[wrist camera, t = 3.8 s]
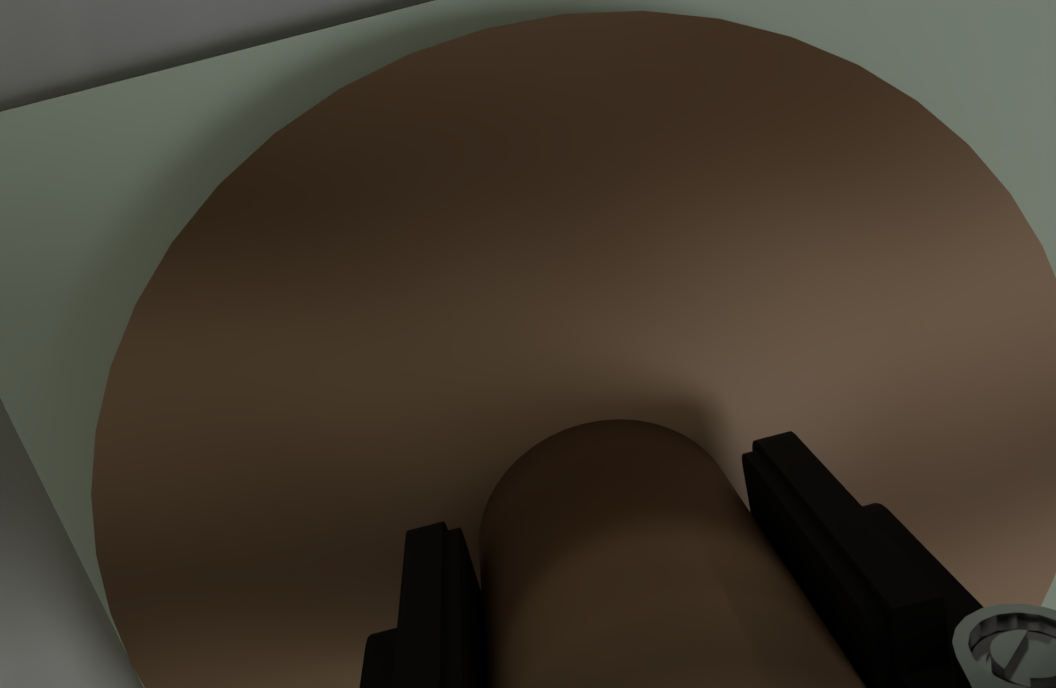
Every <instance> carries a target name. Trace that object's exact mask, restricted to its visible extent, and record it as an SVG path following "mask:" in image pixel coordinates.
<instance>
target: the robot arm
mask: <svg viewBox="0 0 1056 688" xmlns="http://www.w3.org/2000/svg"><path fill="white" fill-rule="evenodd" d="M742 466H743V472H744V477H745V483H746V489H747V495H748V500H749V506H750V512H751V514H752V516H753V517H754V519H755V520H756V522H757V523H758V525H759V526H760V528H761V529H762V531H763V532H764V534H765V535H766V537H767V538H768V540H769V541H770V543H771V544H772V546H773V547H774V549H775V550H776V552H777V553H778V555H779V556H780V558H781V559H782V561H783V562H784V564H785V565H786V567H787V568H788V570H789V571H790V573H791V574H792V576H793V577H794V579H795V580H796V582H797V583H798V585H799V586H800V588H801V589H802V591H803V592H804V594H805V595H806V597H807V598H808V600H809V601H810V603H811V604H812V606H813V607H814V609H815V610H816V612H817V613H818V615H819V616H820V618H821V619H822V621H823V622H824V624H825V625H826V627H827V628H828V630H829V631H830V633H831V634H832V636H833V637H834V639H835V640H836V642H837V643H838V645H839V646H840V648H841V649H842V651H843V652H844V654H845V655H846V657H847V658H848V660H849V661H850V663H851V664H852V666H853V667H854V669H855V670H856V672H857V673H858V675H859V676H860V678H861V679H862V681H863V682H864V684H865V685H866V687H867V688H1056V610H1053V609H1050V608H1047V607H1041V606H1035V605H1028V604H999V605H994V606H990V607H985V608H984V607H983V606H982V605H981V604H980V603H979V602H978V601H977V600H976V599H975V598H974V597H973V596H972V595H971V594H970V593H969V592H968V591H967V590H966V589H965V588H964V586H963V585H962V584H961V583H960V582H959V581H958V580H957V579H956V578H955V577H954V576H953V575H952V574H951V573H950V572H949V571H948V570H947V569H946V568H945V567H944V566H943V565H942V564H941V563H940V562H939V561H938V560H937V559H936V558H935V557H934V556H933V555H932V554H931V553H930V552H929V551H928V550H927V549H926V548H925V547H924V545H923V544H922V543H921V542H920V541H919V540H918V539H917V538H916V537H915V536H914V535H913V534H912V533H911V532H910V531H909V530H908V529H907V528H906V527H905V526H904V525H903V524H902V523H901V522H900V521H899V520H898V519H897V518H896V517H895V516H894V515H893V514H892V513H891V512H890V511H889V510H888V509H887V508H886V507H885V506H883V505H882V504H880V503H873V504H869V505H865V506H861V505H860V504H859V502H858V501H857V500H856V499H855V498H854V497H853V496H852V495H851V494H850V493H849V492H848V491H847V489H846V488H845V487H844V486H843V485H842V484H841V483H840V482H839V481H838V480H837V479H836V478H835V476H834V475H833V474H832V473H831V472H830V471H829V470H828V469H827V468H826V467H825V466H824V465H823V463H822V462H821V461H820V460H819V459H818V458H817V457H816V456H815V455H814V454H813V453H812V452H811V450H810V449H809V448H808V447H807V446H806V445H805V444H804V443H803V442H802V441H801V440H800V439H799V437H798V436H797V435H796V434H795V433H793V432H792V431H788V432H785V433H781V434H777V435H773V436H769V437H765V438H762V439H758V440H754V441H753V443H752V451H751V452H747V453H743V454H742ZM359 688H488V687H487V671H486V655H485V639H484V623H483V608H482V592H481V589H480V586H479V583H478V580H477V576H476V573H475V570H474V567H473V563H472V560H471V557H470V554H469V551H468V547H467V544H466V541H465V538H464V535H463V532H462V530H461V528H460V527H459V528H455V529H451V530H448V528H447V526H446V524H445V522H444V521H442V522H438V523H434V524H431V525H427V526H423V527H419V528H415V529H411V530H408V531H406V536H405V547H404V558H403V568H402V579H401V590H400V601H399V611H398V622H397V628H393V629H389V630H385V631H381V632H378V633H374V634H371V635H370V636H369V637H368V638H367V642H366V646H365V652H364V659H363V666H362V673H361V680H360V687H359Z"/></svg>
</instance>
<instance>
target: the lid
mask: <svg viewBox="0 0 1056 688" xmlns="http://www.w3.org/2000/svg"><path fill="white" fill-rule="evenodd" d="M788 431H792V432H793V433H795V434H796V435H797V436H798V437H799V439H800V440H801V441H802V442H803V443H804V444H805V445H806V446H807V447H808V448H809V449H810V450H811V452H812V453H813V454H814V455H815V456H816V457H817V458H818V459H819V460H820V461H821V462H822V463H823V465H824V466H825V467H826V468H827V469H828V470H829V471H830V472H831V473H832V474H833V475H834V476H835V478H836V479H837V480H838V481H839V482H840V483H841V484H842V485H843V486H844V487H845V488H846V489H847V491H848V492H849V493H850V494H851V495H852V496H853V497H854V498H855V499H856V500H857V501H858V502H859V504H860V505H861V506H865V505H869V504H873V503H880V504H882V505H883V506H885V507H886V508H887V509H888V510H889V511H890V512H891V513H892V514H893V515H894V516H895V517H896V518H897V519H898V520H899V521H900V522H901V523H902V524H903V525H904V526H905V527H906V528H907V529H908V530H909V531H910V532H911V533H912V534H913V535H914V536H915V537H916V538H917V539H918V540H919V541H920V542H921V543H922V544H923V545H924V547H925V548H926V549H927V550H928V551H929V552H930V553H931V554H932V555H933V556H934V557H935V558H936V559H937V560H938V561H939V562H940V563H941V564H942V565H943V566H944V567H945V568H946V569H947V570H948V571H949V572H950V573H951V574H952V575H953V576H954V577H955V578H956V579H957V580H958V581H959V582H960V583H961V584H962V585H963V586H964V588H965V589H966V590H967V591H968V592H969V593H970V594H971V595H972V596H973V597H974V598H975V599H976V600H977V601H978V602H979V603H980V604H981V605H982V606H983V607H984V608H985V607H990V606H994V605H999V604H1028V605H1035V606H1041V605H1042V603H1043V601H1044V598H1045V596H1046V594H1047V592H1048V590H1049V588H1050V586H1051V584H1052V581H1053V579H1054V577H1055V574H1056V277H1055V275H1054V272H1053V270H1052V268H1051V265H1050V263H1049V260H1048V258H1047V256H1046V253H1045V251H1044V248H1043V246H1042V244H1041V243H1040V241H1039V239H1038V238H1037V236H1036V235H1035V233H1034V231H1033V230H1032V228H1031V226H1030V225H1029V223H1028V221H1027V220H1026V218H1025V217H1024V215H1023V213H1022V212H1021V210H1020V208H1019V207H1018V205H1017V204H1016V202H1015V200H1014V199H1013V197H1012V195H1011V194H1010V192H1009V191H1008V190H1007V189H1006V188H1005V187H1004V185H1003V184H1002V183H1001V182H1000V181H999V180H998V178H997V177H996V176H995V175H994V174H993V173H992V171H991V170H990V169H989V168H988V167H987V165H986V164H985V163H984V162H983V161H982V160H981V158H980V157H979V156H978V155H977V154H976V153H975V151H974V150H973V149H972V148H971V147H970V146H969V144H967V143H966V142H965V141H964V140H963V139H962V138H960V137H959V136H958V135H957V134H956V133H954V132H953V131H952V130H951V129H950V128H949V127H947V126H946V125H945V124H944V123H943V122H942V121H940V120H939V119H938V118H937V117H936V116H935V115H933V114H932V113H931V112H930V111H929V110H927V109H926V108H925V107H924V106H923V105H922V104H920V103H919V102H918V101H917V100H915V99H913V98H912V97H910V96H908V95H907V94H905V93H904V92H902V91H900V90H899V89H897V88H895V87H894V86H892V85H891V84H889V83H887V82H886V81H884V80H882V79H881V78H879V77H877V76H876V75H874V74H873V73H871V72H869V71H868V70H866V69H864V68H863V67H861V66H860V65H858V64H855V63H853V62H850V61H848V60H846V59H843V58H841V57H839V56H836V55H834V54H831V53H829V52H827V51H824V50H822V49H819V48H817V47H815V46H812V45H810V44H808V43H805V42H803V41H800V40H798V39H796V38H793V37H790V36H786V35H782V34H778V33H774V32H770V31H767V30H763V29H759V28H755V27H751V26H747V25H743V24H739V23H735V22H731V21H727V20H723V19H719V18H709V17H699V16H689V15H679V14H670V13H660V12H650V11H625V12H601V13H577V14H561V15H556V16H551V17H545V18H540V19H534V20H529V21H523V22H518V23H513V24H507V25H502V26H496V27H491V28H486V29H483V30H480V31H477V32H474V33H471V34H468V35H465V36H462V37H459V38H456V39H453V40H450V41H447V42H444V43H441V44H438V45H435V46H432V47H429V48H426V49H423V50H420V51H417V52H414V53H411V54H408V55H406V56H404V57H402V58H400V59H398V60H396V61H394V62H392V63H390V64H388V65H386V66H384V67H382V68H380V69H378V70H376V71H374V72H372V73H370V74H368V75H366V76H364V77H362V78H360V79H358V80H356V81H354V82H352V83H350V84H348V85H346V86H344V87H342V88H340V89H338V90H337V91H335V92H334V93H332V94H331V95H330V96H328V97H327V98H325V99H324V100H322V101H321V102H319V103H318V104H316V105H315V106H314V107H312V108H311V109H309V110H308V111H306V112H305V113H303V114H302V115H300V116H299V117H298V118H296V119H295V120H293V121H292V122H290V123H289V124H287V125H286V126H284V127H283V128H282V129H280V130H279V131H277V132H276V133H274V134H273V135H272V136H271V137H270V138H269V139H268V140H267V141H266V142H265V143H263V144H262V145H261V146H260V147H259V148H258V149H257V150H256V151H255V152H254V153H253V154H252V155H250V156H249V157H248V158H247V159H246V160H245V161H244V162H243V163H242V164H241V165H240V166H239V167H237V168H236V169H235V170H234V171H233V172H232V173H231V174H230V175H229V176H228V177H227V178H226V179H224V180H223V181H222V182H221V183H220V184H219V185H218V186H217V187H216V189H215V190H214V191H213V192H212V194H211V195H210V196H209V197H208V198H207V200H206V201H205V202H204V203H203V205H202V206H201V207H200V208H199V210H198V211H197V212H196V213H195V215H194V216H193V217H192V218H191V219H190V221H189V222H188V223H187V224H186V226H185V227H184V228H183V229H182V231H181V232H180V233H179V234H178V236H177V237H176V238H175V239H174V240H173V242H172V243H171V245H170V246H169V248H168V250H167V252H166V253H165V255H164V257H163V258H162V260H161V262H160V263H159V265H158V267H157V269H156V270H155V272H154V274H153V275H152V277H151V279H150V280H149V282H148V284H147V286H146V287H145V289H144V291H143V292H142V294H141V296H140V297H139V299H138V301H137V303H136V304H135V307H134V309H133V312H132V314H131V317H130V319H129V322H128V324H127V327H126V329H125V332H124V334H123V337H122V339H121V342H120V344H119V347H118V349H117V352H116V354H115V357H114V359H113V362H112V364H111V367H110V371H109V375H108V379H107V384H106V388H105V392H104V397H103V401H102V405H101V410H100V414H99V418H98V423H97V427H96V431H95V445H94V459H93V473H92V487H91V500H92V512H93V524H94V536H95V548H96V557H97V561H98V565H99V569H100V573H101V577H102V581H103V585H104V590H105V594H106V598H107V602H108V606H109V610H110V613H111V616H112V618H113V621H114V623H115V626H116V628H117V630H118V633H119V635H120V638H121V640H122V643H123V645H124V648H125V650H126V652H127V655H128V657H129V660H130V662H131V665H132V667H133V668H134V670H135V672H136V673H137V675H138V677H139V678H140V680H141V682H142V683H143V685H144V687H145V688H359V687H360V680H361V673H362V666H363V659H364V652H365V646H366V642H367V638H368V637H369V636H370V635H371V634H374V633H378V632H381V631H385V630H389V629H393V628H397V622H398V611H399V601H400V590H401V579H402V568H403V558H404V547H405V536H406V531H408V530H411V529H415V528H419V527H423V526H427V525H431V524H434V523H438V522H442V521H444V522H445V524H446V526H447V528H448V530H451V529H455V528H459V527H460V528H461V530H462V532H463V535H464V538H465V541H466V544H467V547H468V551H469V554H470V557H471V560H472V563H473V567H474V570H475V573H476V576H477V580H478V583H479V586H480V589H481V592H482V608H483V623H484V639H485V655H486V671H487V687H488V688H867V687H866V685H865V684H864V682H863V681H862V679H861V678H860V676H859V675H858V673H857V672H856V670H855V669H854V667H853V666H852V664H851V663H850V661H849V660H848V658H847V657H846V655H845V654H844V652H843V651H842V649H841V648H840V646H839V645H838V643H837V642H836V640H835V639H834V637H833V636H832V634H831V633H830V631H829V630H828V628H827V627H826V625H825V624H824V622H823V621H822V619H821V618H820V616H819V615H818V613H817V612H816V610H815V609H814V607H813V606H812V604H811V603H810V601H809V600H808V598H807V597H806V595H805V594H804V592H803V591H802V589H801V588H800V586H799V585H798V583H797V582H796V580H795V579H794V577H793V576H792V574H791V573H790V571H789V570H788V568H787V567H786V565H785V564H784V562H783V561H782V559H781V558H780V556H779V555H778V553H777V552H776V550H775V549H774V547H773V546H772V544H771V543H770V541H769V540H768V538H767V537H766V535H765V534H764V532H763V531H762V529H761V528H760V526H759V525H758V523H757V522H756V520H755V519H754V517H753V516H752V514H751V512H750V506H749V500H748V495H747V489H746V483H745V477H744V472H743V466H742V454H743V453H747V452H751V451H752V443H753V441H754V440H758V439H762V438H765V437H769V436H773V435H777V434H781V433H785V432H788Z"/></svg>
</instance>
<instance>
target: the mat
mask: <svg viewBox="0 0 1056 688" xmlns="http://www.w3.org/2000/svg"><path fill="white" fill-rule="evenodd" d="M625 11H650V12H660V13H670V14H679V15H689V16H699V17H709V18H719V19H723V20H727V21H731V22H735V23H739V24H743V25H747V26H751V27H755V28H759V29H763V30H767V31H770V32H774V33H778V34H782V35H786V36H790V37H793V38H796V39H798V40H800V41H803V42H805V43H808V44H810V45H812V46H815V47H817V48H819V49H822V50H824V51H827V52H829V53H831V54H834V55H836V56H839V57H841V58H843V59H846V60H848V61H850V62H853V63H855V64H858V65H860V66H861V67H863V68H864V69H866V70H868V71H869V72H871V73H873V74H874V75H876V76H877V77H879V78H881V79H882V80H884V81H886V82H887V83H889V84H891V85H892V86H894V87H895V88H897V89H899V90H900V91H902V92H904V93H905V94H907V95H908V96H910V97H912V98H913V99H915V100H917V101H918V102H919V103H920V104H922V105H923V106H924V107H925V108H926V109H927V110H929V111H930V112H931V113H932V114H933V115H935V116H936V117H937V118H938V119H939V120H940V121H942V122H943V123H944V124H945V125H946V126H947V127H949V128H950V129H951V130H952V131H953V132H954V133H956V134H957V135H958V136H959V137H960V138H962V139H963V140H964V141H965V142H966V143H967V144H969V146H970V147H971V148H972V149H973V150H974V151H975V153H976V154H977V155H978V156H979V157H980V158H981V160H982V161H983V162H984V163H985V164H986V165H987V167H988V168H989V169H990V170H991V171H992V173H993V174H994V175H995V176H996V177H997V178H998V180H999V181H1000V182H1001V183H1002V184H1003V185H1004V187H1005V188H1006V189H1007V190H1008V191H1009V192H1010V194H1011V195H1012V197H1013V199H1014V200H1015V202H1016V204H1017V205H1018V207H1019V208H1020V210H1021V212H1022V213H1023V215H1024V217H1025V218H1026V220H1027V221H1028V223H1029V225H1030V226H1031V228H1032V230H1033V231H1034V233H1035V235H1036V236H1037V238H1038V239H1039V241H1040V243H1041V244H1042V246H1043V248H1044V251H1045V253H1046V256H1047V258H1048V260H1049V263H1050V265H1051V268H1052V270H1053V272H1054V275H1055V277H1056V0H434V1H431V2H427V3H423V4H419V5H415V6H411V7H407V8H403V9H399V10H395V11H392V12H388V13H384V14H380V15H376V16H372V17H368V18H364V19H360V20H356V21H352V22H349V23H345V24H341V25H337V26H333V27H329V28H325V29H321V30H317V31H313V32H310V33H306V34H302V35H298V36H294V37H290V38H286V39H282V40H278V41H274V42H271V43H267V44H263V45H259V46H255V47H251V48H247V49H243V50H239V51H235V52H232V53H228V54H224V55H220V56H216V57H212V58H208V59H204V60H200V61H196V62H193V63H189V64H185V65H181V66H177V67H173V68H169V69H165V70H161V71H157V72H154V73H150V74H146V75H142V76H138V77H134V78H130V79H126V80H122V81H118V82H115V83H111V84H107V85H103V86H99V87H95V88H91V89H87V90H83V91H79V92H76V93H72V94H68V95H64V96H60V97H56V98H52V99H48V100H44V101H40V102H36V103H33V104H29V105H25V106H21V107H17V108H13V109H9V110H5V111H1V112H0V399H1V401H2V403H3V405H4V407H5V409H6V411H7V414H8V416H9V418H10V420H11V422H12V424H13V426H14V428H15V430H16V432H17V434H18V436H19V438H20V440H21V442H22V444H23V446H24V448H25V450H26V452H27V454H28V456H29V458H30V460H31V462H32V464H33V466H34V468H35V470H36V472H37V474H38V476H39V478H40V480H41V482H42V484H43V486H44V488H45V490H46V492H47V494H48V496H49V498H50V500H51V502H52V504H53V506H54V508H55V510H56V512H57V514H58V516H59V518H60V520H61V522H62V525H63V527H64V529H65V531H66V533H67V535H68V537H69V539H70V541H71V543H72V545H73V547H74V549H75V551H76V553H77V555H78V557H79V559H80V561H81V563H82V565H83V567H84V569H85V571H86V573H87V575H88V577H89V579H90V581H91V583H92V585H93V587H94V589H95V591H96V593H97V595H98V597H99V599H100V601H101V603H102V605H103V607H104V609H105V611H106V613H107V615H108V617H109V619H110V621H111V623H112V625H113V627H114V629H115V631H116V633H117V636H118V638H119V640H120V642H121V644H122V646H123V648H124V645H123V643H122V640H121V638H120V635H119V633H118V630H117V628H116V626H115V623H114V621H113V618H112V616H111V613H110V610H109V606H108V602H107V598H106V594H105V590H104V585H103V581H102V577H101V573H100V569H99V565H98V561H97V557H96V548H95V536H94V524H93V512H92V500H91V487H92V473H93V459H94V445H95V431H96V427H97V423H98V418H99V414H100V410H101V405H102V401H103V397H104V392H105V388H106V384H107V379H108V375H109V371H110V367H111V364H112V362H113V359H114V357H115V354H116V352H117V349H118V347H119V344H120V342H121V339H122V337H123V334H124V332H125V329H126V327H127V324H128V322H129V319H130V317H131V314H132V312H133V309H134V307H135V304H136V303H137V301H138V299H139V297H140V296H141V294H142V292H143V291H144V289H145V287H146V286H147V284H148V282H149V280H150V279H151V277H152V275H153V274H154V272H155V270H156V269H157V267H158V265H159V263H160V262H161V260H162V258H163V257H164V255H165V253H166V252H167V250H168V248H169V246H170V245H171V243H172V242H173V240H174V239H175V238H176V237H177V236H178V234H179V233H180V232H181V231H182V229H183V228H184V227H185V226H186V224H187V223H188V222H189V221H190V219H191V218H192V217H193V216H194V215H195V213H196V212H197V211H198V210H199V208H200V207H201V206H202V205H203V203H204V202H205V201H206V200H207V198H208V197H209V196H210V195H211V194H212V192H213V191H214V190H215V189H216V187H217V186H218V185H219V184H220V183H221V182H222V181H223V180H224V179H226V178H227V177H228V176H229V175H230V174H231V173H232V172H233V171H234V170H235V169H236V168H237V167H239V166H240V165H241V164H242V163H243V162H244V161H245V160H246V159H247V158H248V157H249V156H250V155H252V154H253V153H254V152H255V151H256V150H257V149H258V148H259V147H260V146H261V145H262V144H263V143H265V142H266V141H267V140H268V139H269V138H270V137H271V136H272V135H273V134H274V133H276V132H277V131H279V130H280V129H282V128H283V127H284V126H286V125H287V124H289V123H290V122H292V121H293V120H295V119H296V118H298V117H299V116H300V115H302V114H303V113H305V112H306V111H308V110H309V109H311V108H312V107H314V106H315V105H316V104H318V103H319V102H321V101H322V100H324V99H325V98H327V97H328V96H330V95H331V94H332V93H334V92H335V91H337V90H338V89H340V88H342V87H344V86H346V85H348V84H350V83H352V82H354V81H356V80H358V79H360V78H362V77H364V76H366V75H368V74H370V73H372V72H374V71H376V70H378V69H380V68H382V67H384V66H386V65H388V64H390V63H392V62H394V61H396V60H398V59H400V58H402V57H404V56H406V55H408V54H411V53H414V52H417V51H420V50H423V49H426V48H429V47H432V46H435V45H438V44H441V43H444V42H447V41H450V40H453V39H456V38H459V37H462V36H465V35H468V34H471V33H474V32H477V31H480V30H483V29H486V28H491V27H496V26H502V25H507V24H513V23H518V22H523V21H529V20H534V19H540V18H545V17H551V16H556V15H561V14H577V13H601V12H625ZM1041 607H1047V608H1050V609H1053V610H1056V574H1055V577H1054V579H1053V581H1052V584H1051V586H1050V588H1049V590H1048V592H1047V594H1046V596H1045V598H1044V601H1043V603H1042V605H1041ZM124 650H125V648H124ZM125 652H126V650H125ZM126 654H127V652H126ZM127 656H128V655H127ZM128 658H129V657H128ZM136 674H137V673H136ZM137 676H138V675H137ZM138 678H139V677H138ZM139 680H140V678H139ZM140 682H141V680H140ZM141 684H142V686H143V688H145V687H144V685H143V683H142V682H141Z"/></svg>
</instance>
